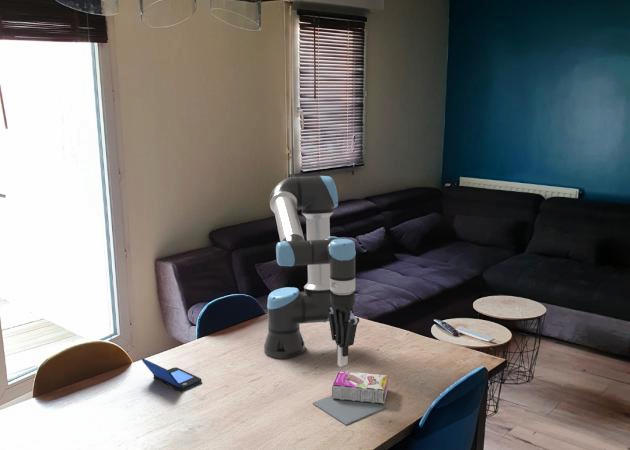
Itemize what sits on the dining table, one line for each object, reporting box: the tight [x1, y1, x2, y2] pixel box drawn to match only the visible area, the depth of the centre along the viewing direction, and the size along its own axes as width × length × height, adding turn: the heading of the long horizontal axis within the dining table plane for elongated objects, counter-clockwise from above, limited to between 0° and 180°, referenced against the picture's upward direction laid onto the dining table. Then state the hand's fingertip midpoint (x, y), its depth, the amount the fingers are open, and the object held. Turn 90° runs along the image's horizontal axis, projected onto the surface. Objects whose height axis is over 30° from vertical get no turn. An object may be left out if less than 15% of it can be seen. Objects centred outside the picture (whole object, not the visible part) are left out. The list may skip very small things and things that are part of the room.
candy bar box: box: [331, 370, 390, 405], centre depth 192 cm, size 11×5×16 cm
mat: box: [312, 395, 387, 426], centre depth 186 cm, size 16×16×1 cm
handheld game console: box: [141, 358, 202, 392], centre depth 202 cm, size 16×13×9 cm
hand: (342, 364), depth 186 cm, fingers closed
